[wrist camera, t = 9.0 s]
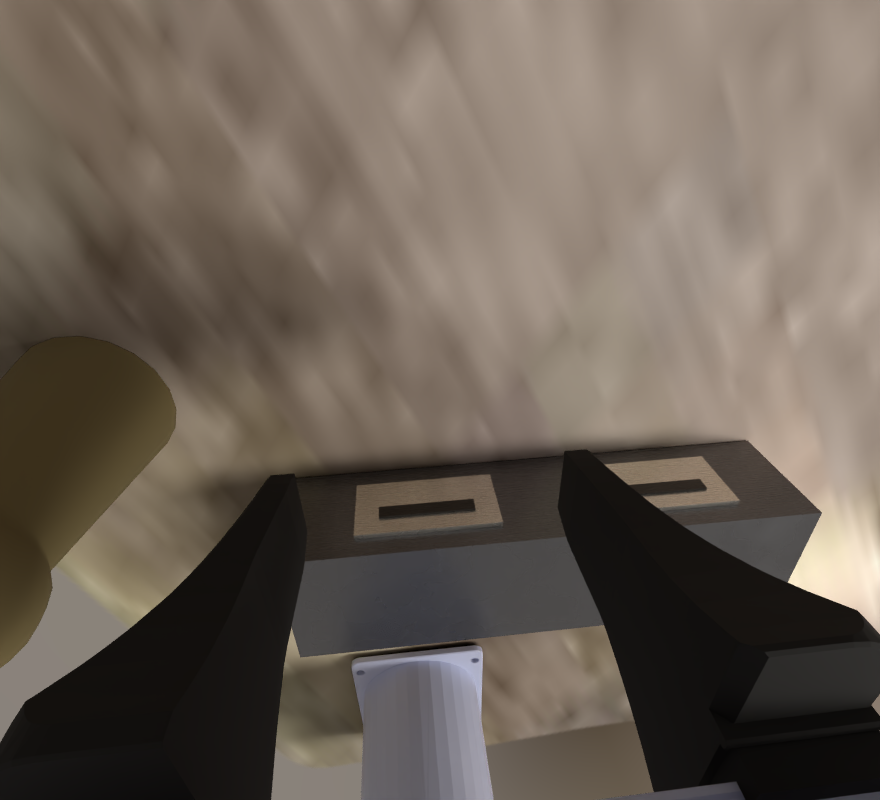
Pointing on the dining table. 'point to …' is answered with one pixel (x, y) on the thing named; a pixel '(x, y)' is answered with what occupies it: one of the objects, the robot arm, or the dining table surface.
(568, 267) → the dining table surface
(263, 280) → the dining table surface
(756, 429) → the dining table surface
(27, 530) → the cork
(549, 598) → the dark gray slotted box
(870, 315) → the dining table surface
